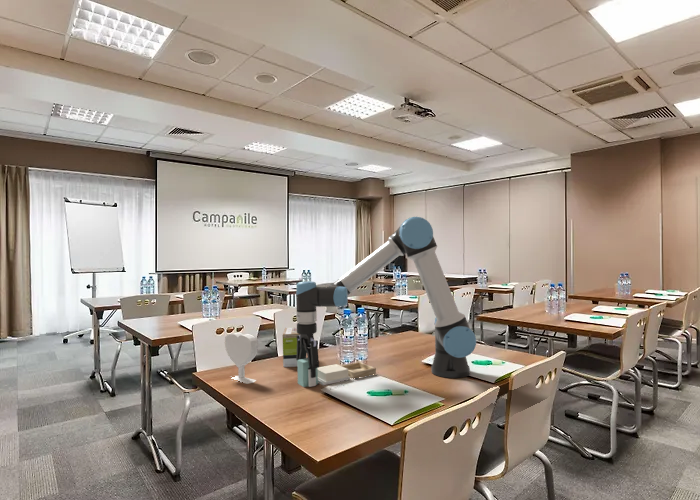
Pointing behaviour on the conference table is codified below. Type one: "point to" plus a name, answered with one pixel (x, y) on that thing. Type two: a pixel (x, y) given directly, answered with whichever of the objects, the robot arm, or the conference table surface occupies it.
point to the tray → (359, 370)
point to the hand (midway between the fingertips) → (307, 383)
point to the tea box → (290, 347)
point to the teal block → (304, 372)
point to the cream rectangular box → (332, 374)
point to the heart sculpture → (241, 352)
